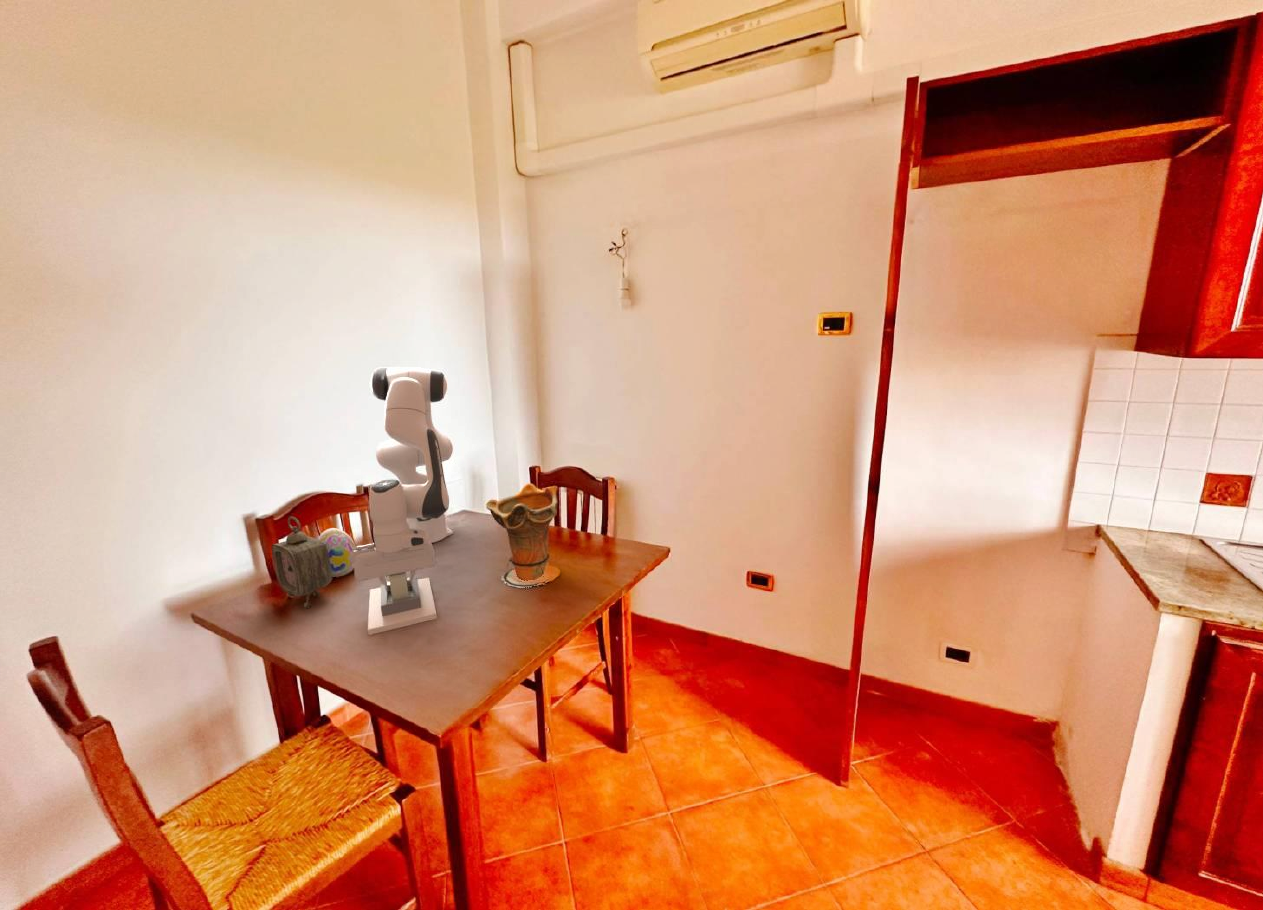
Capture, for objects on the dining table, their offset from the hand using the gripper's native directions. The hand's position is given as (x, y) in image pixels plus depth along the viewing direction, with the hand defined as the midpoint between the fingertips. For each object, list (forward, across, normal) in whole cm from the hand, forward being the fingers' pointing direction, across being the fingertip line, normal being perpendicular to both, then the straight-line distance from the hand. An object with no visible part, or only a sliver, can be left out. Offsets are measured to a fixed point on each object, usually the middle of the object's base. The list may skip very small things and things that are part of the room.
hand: (399, 587), depth 137 cm
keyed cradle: (+6, 0, 0) cm, 6 cm away
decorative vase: (+6, +37, +1) cm, 37 cm away
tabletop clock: (+6, -24, +18) cm, 30 cm away
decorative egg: (+6, -18, +34) cm, 39 cm away
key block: (+3, 0, 0) cm, 3 cm away
